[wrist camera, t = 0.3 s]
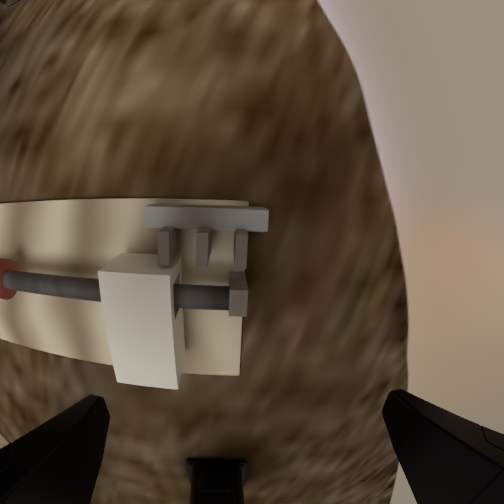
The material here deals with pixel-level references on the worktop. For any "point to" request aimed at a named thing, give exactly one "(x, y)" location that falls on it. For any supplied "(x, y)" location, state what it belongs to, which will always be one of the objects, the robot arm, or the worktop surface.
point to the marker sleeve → (143, 319)
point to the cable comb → (110, 246)
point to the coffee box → (8, 2)
